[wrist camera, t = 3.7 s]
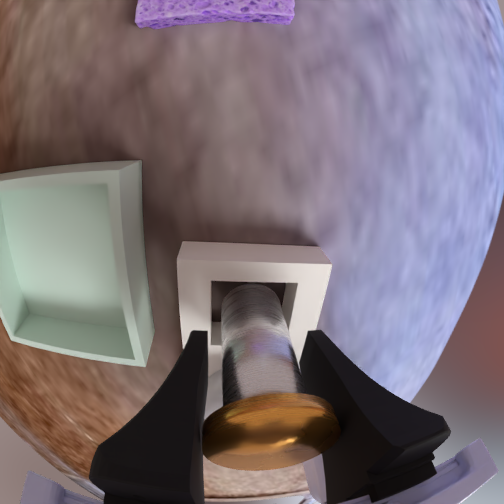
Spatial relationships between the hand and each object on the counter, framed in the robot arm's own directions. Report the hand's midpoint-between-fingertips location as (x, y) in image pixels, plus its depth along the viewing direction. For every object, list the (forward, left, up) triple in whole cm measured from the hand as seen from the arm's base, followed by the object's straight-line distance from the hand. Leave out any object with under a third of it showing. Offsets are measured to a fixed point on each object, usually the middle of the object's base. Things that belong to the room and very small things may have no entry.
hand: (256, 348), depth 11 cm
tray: (+2, +11, -4) cm, 11 cm away
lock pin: (0, 0, -3) cm, 3 cm away
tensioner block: (-3, 0, -4) cm, 5 cm away
